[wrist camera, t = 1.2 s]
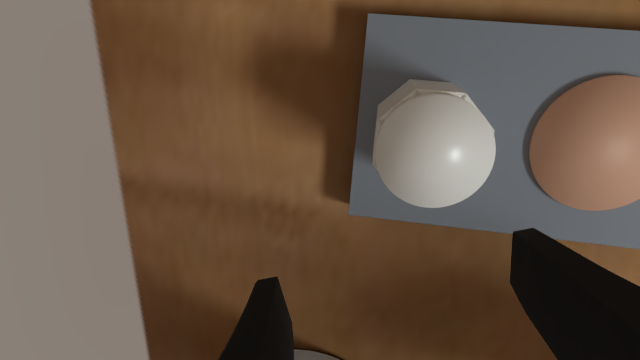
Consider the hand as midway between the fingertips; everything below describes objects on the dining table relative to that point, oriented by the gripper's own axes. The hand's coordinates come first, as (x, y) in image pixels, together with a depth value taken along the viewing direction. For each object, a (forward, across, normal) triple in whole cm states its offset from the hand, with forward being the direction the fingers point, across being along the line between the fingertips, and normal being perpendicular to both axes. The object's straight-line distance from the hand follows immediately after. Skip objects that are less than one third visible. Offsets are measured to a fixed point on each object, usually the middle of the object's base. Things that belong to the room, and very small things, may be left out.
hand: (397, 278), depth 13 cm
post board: (+11, -8, +2) cm, 14 cm away
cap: (+11, -4, 0) cm, 11 cm away
